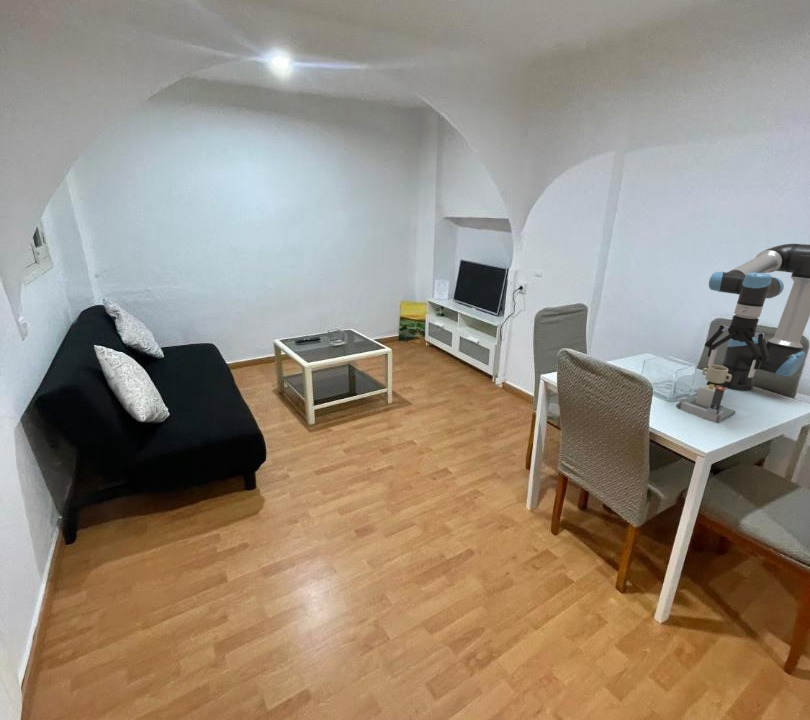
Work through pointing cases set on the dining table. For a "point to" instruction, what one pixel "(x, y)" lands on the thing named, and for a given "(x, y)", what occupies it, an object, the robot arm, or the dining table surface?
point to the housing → (705, 395)
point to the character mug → (716, 375)
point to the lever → (716, 400)
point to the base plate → (704, 410)
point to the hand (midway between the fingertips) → (729, 371)
